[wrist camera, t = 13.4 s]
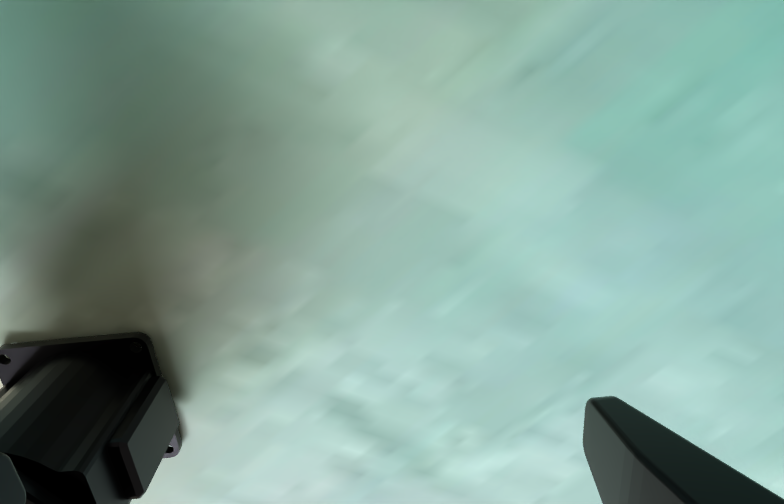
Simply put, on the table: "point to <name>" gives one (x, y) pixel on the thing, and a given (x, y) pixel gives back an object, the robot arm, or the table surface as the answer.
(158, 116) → the table surface
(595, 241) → the table surface
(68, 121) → the table surface
